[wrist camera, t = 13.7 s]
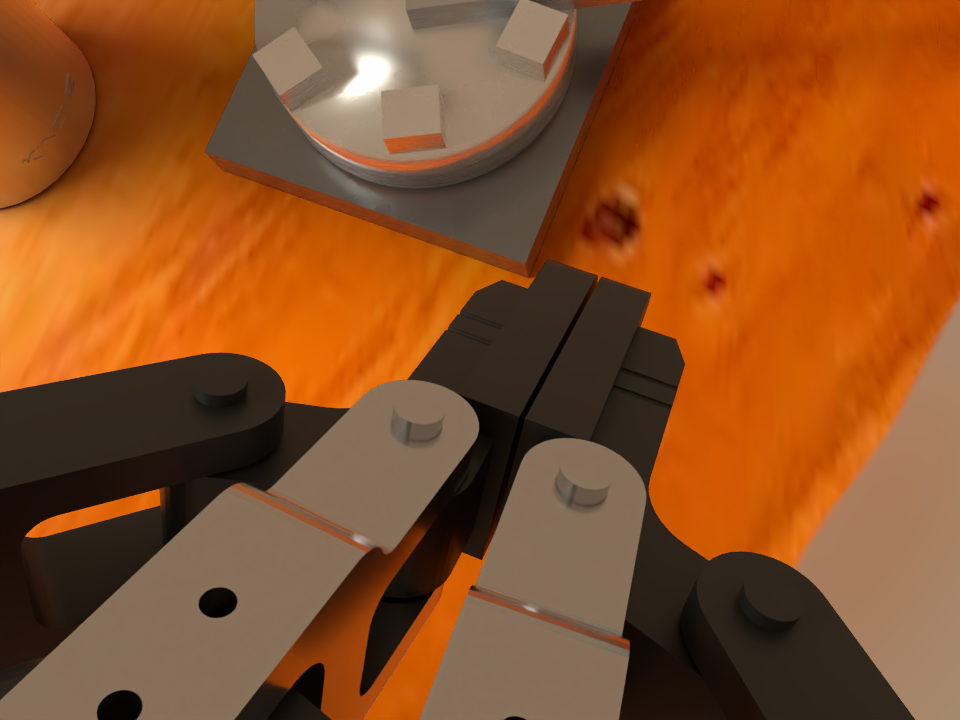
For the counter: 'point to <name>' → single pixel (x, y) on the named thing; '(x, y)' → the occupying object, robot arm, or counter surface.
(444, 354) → the robot arm
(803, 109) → the counter surface
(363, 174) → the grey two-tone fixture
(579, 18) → the base plate
